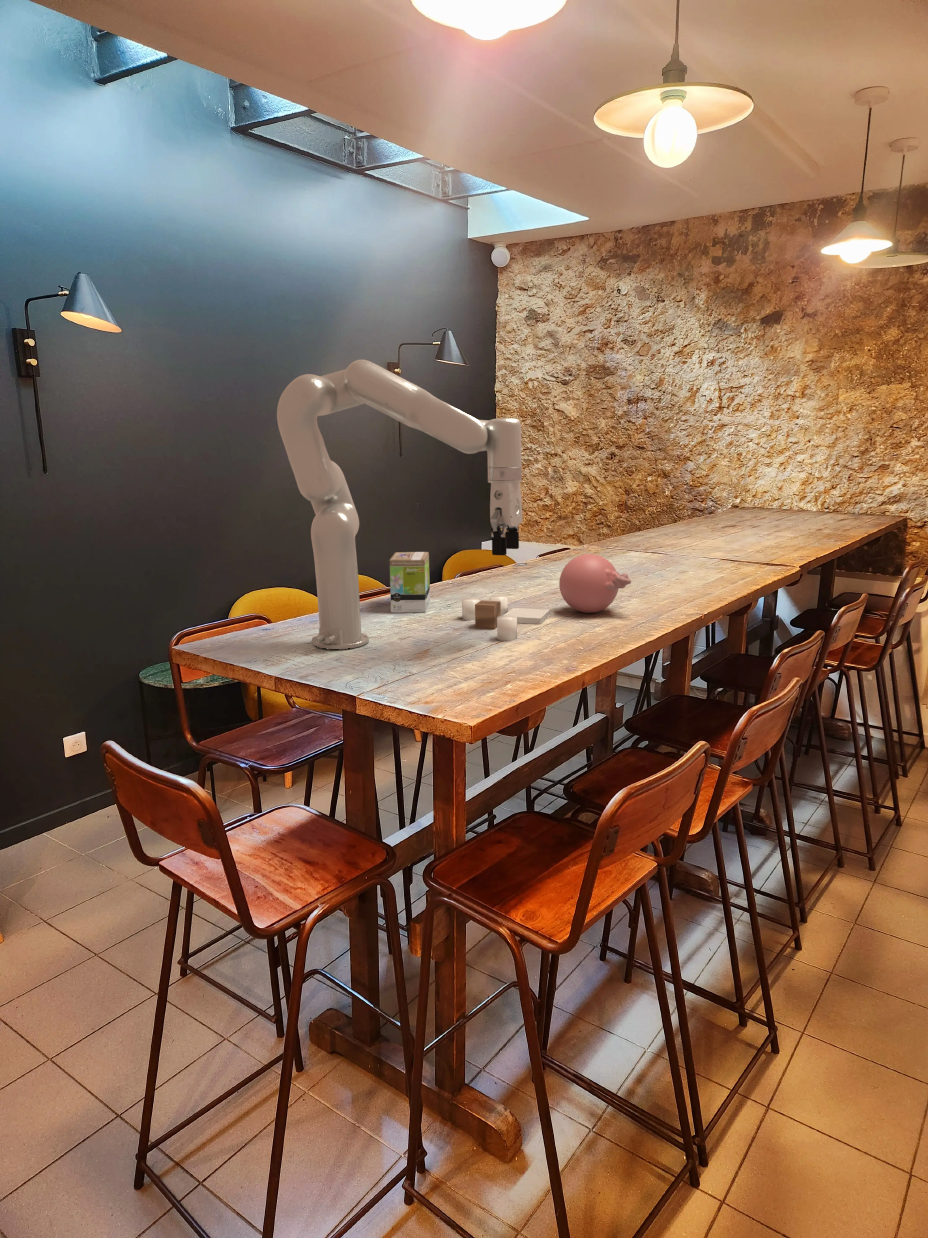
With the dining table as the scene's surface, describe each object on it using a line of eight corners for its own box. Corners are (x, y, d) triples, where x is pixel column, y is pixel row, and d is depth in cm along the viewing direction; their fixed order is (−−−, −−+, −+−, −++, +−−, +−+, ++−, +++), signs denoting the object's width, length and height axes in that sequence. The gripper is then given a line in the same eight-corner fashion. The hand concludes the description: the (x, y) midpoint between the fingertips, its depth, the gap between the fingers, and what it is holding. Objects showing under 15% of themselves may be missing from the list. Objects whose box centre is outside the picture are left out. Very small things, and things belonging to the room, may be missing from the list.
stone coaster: (540, 624, 196) (540, 618, 196) (502, 622, 200) (501, 616, 200) (550, 615, 206) (550, 609, 205) (513, 613, 209) (513, 607, 209)
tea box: (427, 612, 213) (425, 558, 209) (390, 613, 213) (387, 559, 210) (430, 601, 227) (429, 550, 224) (396, 602, 228) (393, 551, 224)
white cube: (476, 621, 202) (476, 601, 201) (459, 620, 203) (459, 601, 202) (482, 617, 206) (482, 598, 205) (465, 616, 208) (465, 597, 207)
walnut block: (494, 629, 193) (494, 605, 192) (475, 628, 195) (474, 604, 193) (500, 624, 197) (500, 601, 196) (482, 623, 199) (481, 600, 198)
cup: (513, 641, 181) (513, 620, 180) (494, 640, 183) (494, 619, 182) (519, 636, 185) (519, 615, 184) (500, 635, 187) (500, 614, 186)
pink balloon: (611, 624, 194) (612, 562, 191) (547, 613, 208) (547, 555, 204) (645, 613, 205) (646, 554, 201) (582, 603, 219) (582, 548, 215)
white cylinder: (504, 617, 204) (504, 599, 203) (488, 617, 206) (487, 598, 205) (510, 614, 209) (509, 595, 207) (493, 613, 210) (493, 594, 209)
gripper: (509, 477, 166) (510, 558, 170) (531, 473, 182) (531, 546, 186) (475, 478, 169) (477, 557, 173) (500, 473, 185) (501, 546, 189)
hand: (505, 551), depth 180 cm, fingers open, 9 cm apart
